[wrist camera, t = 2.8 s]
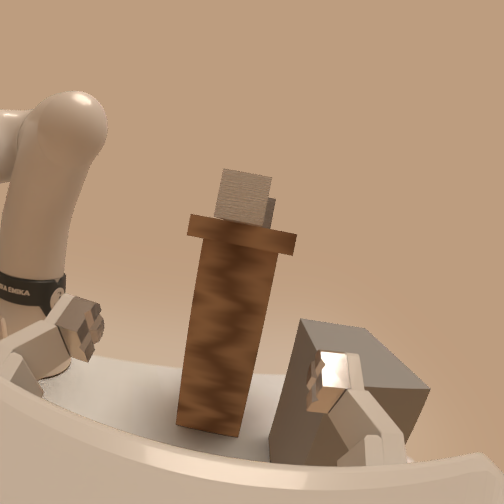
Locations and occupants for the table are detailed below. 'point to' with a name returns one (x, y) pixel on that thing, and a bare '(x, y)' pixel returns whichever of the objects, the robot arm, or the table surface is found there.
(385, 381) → the pedestal
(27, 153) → the robot arm
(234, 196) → the link bar
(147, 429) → the table surface
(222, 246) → the brown wooden post
